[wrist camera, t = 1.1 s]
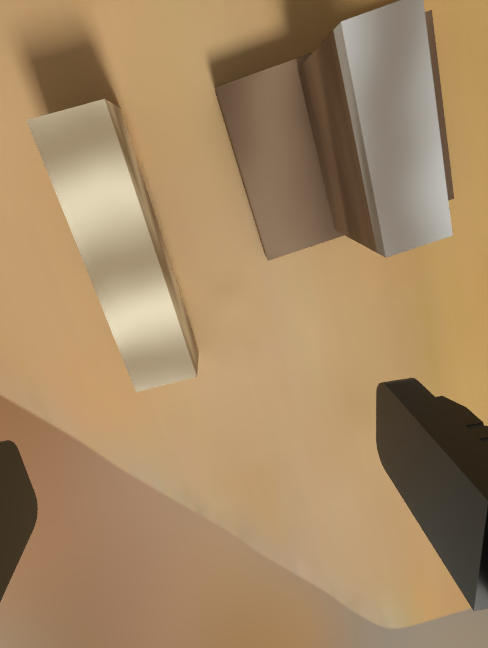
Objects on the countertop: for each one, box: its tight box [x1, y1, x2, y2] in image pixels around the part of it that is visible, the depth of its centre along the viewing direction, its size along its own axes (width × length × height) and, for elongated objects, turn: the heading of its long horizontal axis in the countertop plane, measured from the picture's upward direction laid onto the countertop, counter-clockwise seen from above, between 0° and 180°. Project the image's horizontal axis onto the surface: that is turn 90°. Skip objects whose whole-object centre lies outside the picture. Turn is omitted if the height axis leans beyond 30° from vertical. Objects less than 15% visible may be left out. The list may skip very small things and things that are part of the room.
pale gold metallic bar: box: [27, 99, 199, 392], centre depth 25 cm, size 16×4×4 cm, turn 14°
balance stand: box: [215, 0, 454, 261], centre depth 21 cm, size 12×10×10 cm
